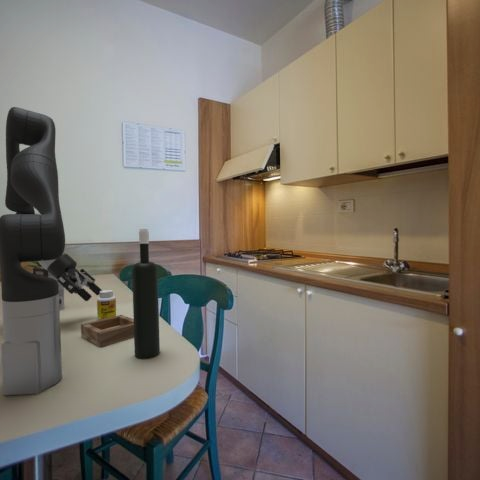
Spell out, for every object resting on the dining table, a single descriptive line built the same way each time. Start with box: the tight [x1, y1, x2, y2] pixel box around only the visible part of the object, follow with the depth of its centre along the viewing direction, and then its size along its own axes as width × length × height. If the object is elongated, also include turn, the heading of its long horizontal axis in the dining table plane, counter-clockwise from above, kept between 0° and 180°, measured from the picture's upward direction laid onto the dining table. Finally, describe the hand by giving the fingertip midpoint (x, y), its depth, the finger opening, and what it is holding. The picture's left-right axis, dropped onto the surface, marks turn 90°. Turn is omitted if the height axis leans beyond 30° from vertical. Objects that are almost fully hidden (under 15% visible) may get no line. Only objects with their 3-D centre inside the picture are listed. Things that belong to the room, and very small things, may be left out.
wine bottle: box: [131, 228, 161, 360], centre depth 73 cm, size 6×6×30 cm
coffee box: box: [32, 266, 65, 311], centre depth 117 cm, size 9×6×16 cm
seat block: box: [80, 314, 134, 348], centre depth 87 cm, size 12×12×4 cm
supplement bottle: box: [96, 289, 117, 321], centre depth 100 cm, size 6×6×10 cm
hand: (95, 296), depth 99 cm, fingers open, 8 cm apart
